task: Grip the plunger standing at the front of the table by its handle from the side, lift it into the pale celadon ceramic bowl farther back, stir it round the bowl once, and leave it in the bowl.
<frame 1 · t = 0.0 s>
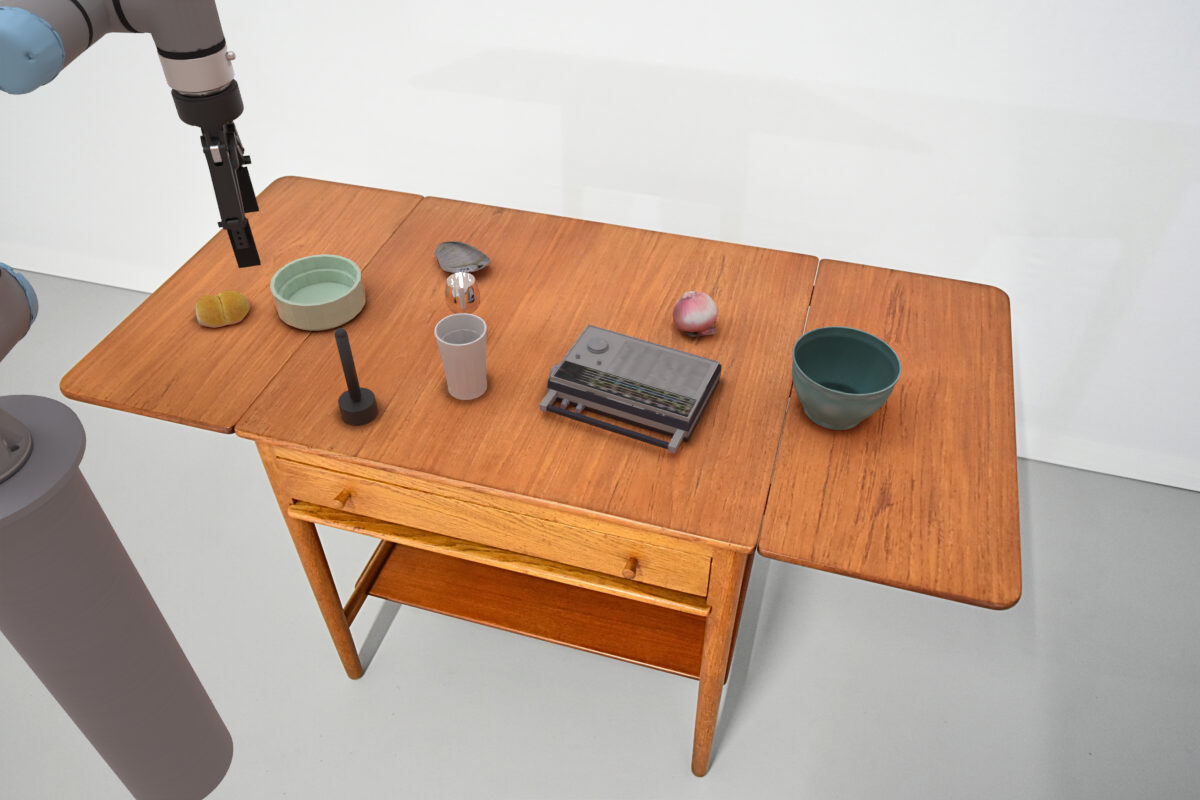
hand: (249, 237, 120), 32 cm above the table, tool pointing down, fingers open, 13 cm apart
radio: (628, 397, 145), on the table
bread roll: (223, 316, 159), on the table
wineglass: (467, 338, 155), on the table
bowl: (322, 306, 161), on the table
onion: (694, 329, 158), on the table
flower pot: (833, 411, 143), on the table
seashell: (460, 269, 170), on the table
plunger: (359, 413, 141), on the table
cup: (467, 387, 146), on the table
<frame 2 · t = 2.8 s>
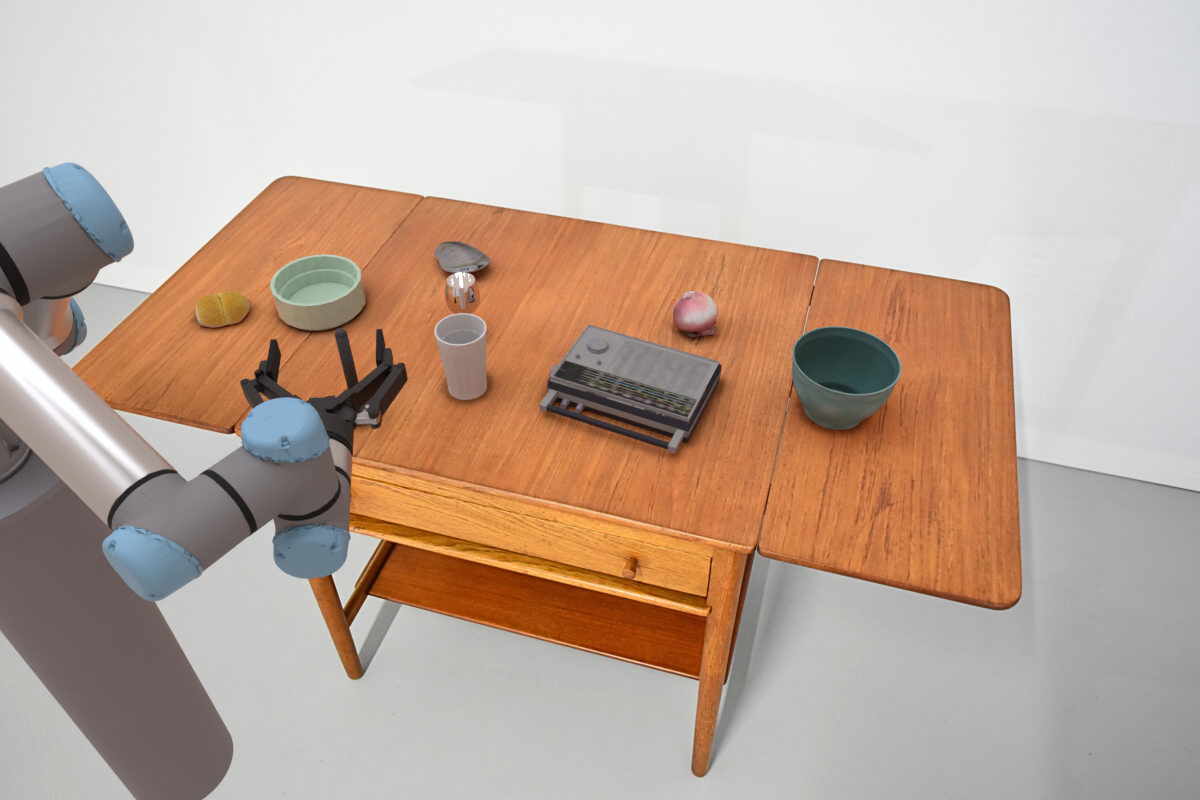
hand: (328, 341, 119), 22 cm above the table, tool horizontal, fingers open, 13 cm apart
nothing on the table moved.
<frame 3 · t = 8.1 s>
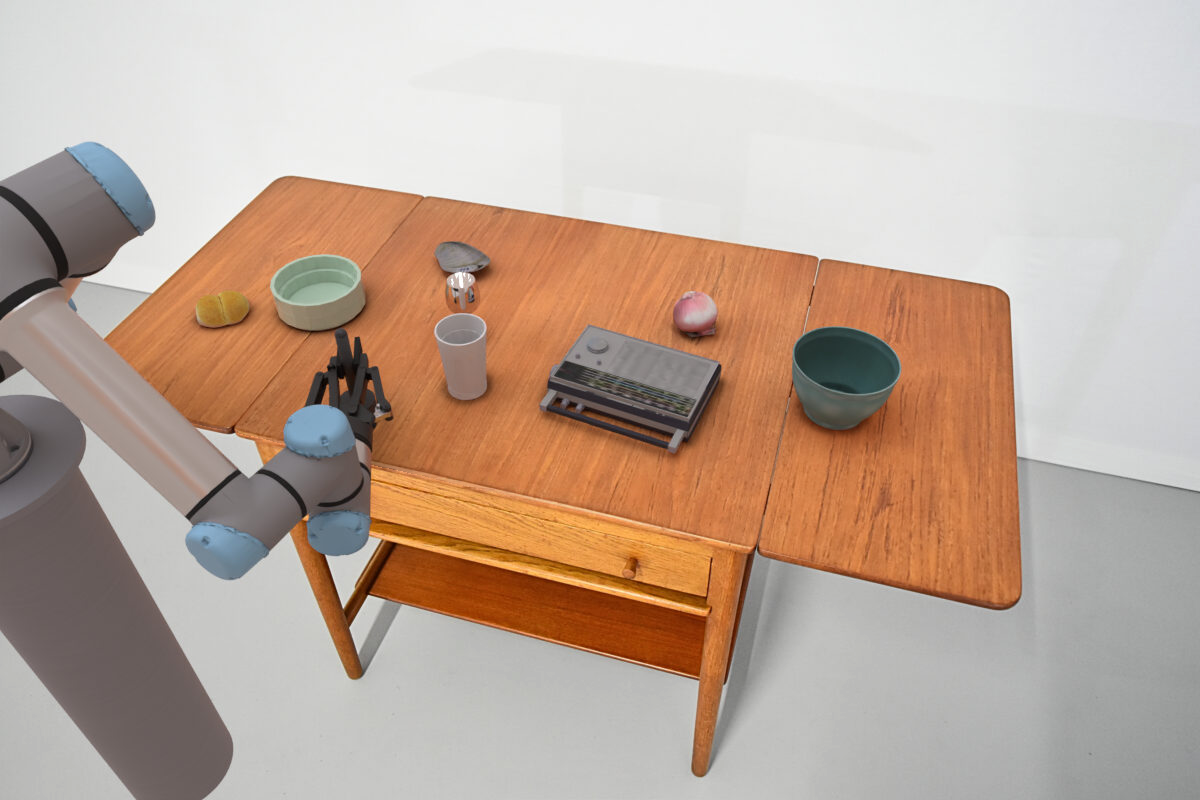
hand: (350, 344, 139), 10 cm above the table, tool horizontal, fingers closed on plunger, 2 cm apart
plunger: (359, 413, 141), on the table, touching gripper
everything else where it was.
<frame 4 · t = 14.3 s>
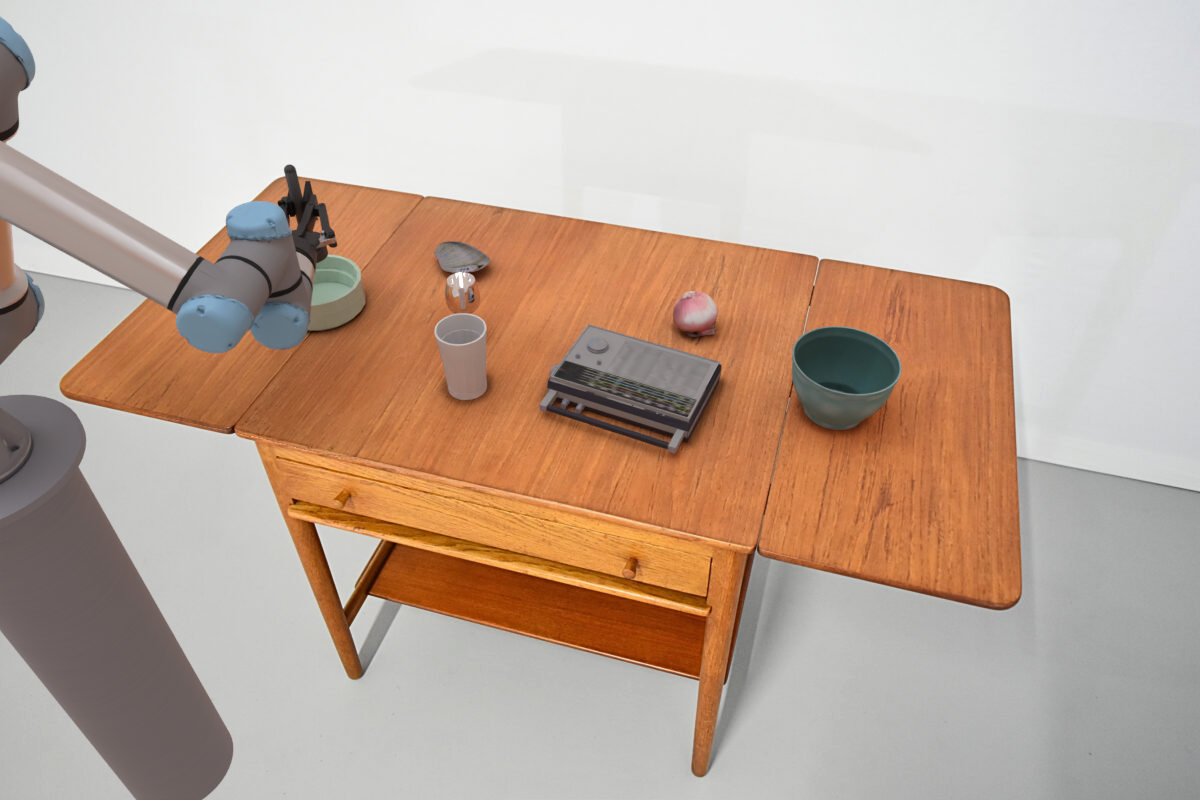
hand: (301, 188, 150), 21 cm above the table, tool horizontal, fingers closed on plunger, 2 cm apart
plunger: (311, 255, 152), point 12 cm above the table, touching gripper
everything else where it was.
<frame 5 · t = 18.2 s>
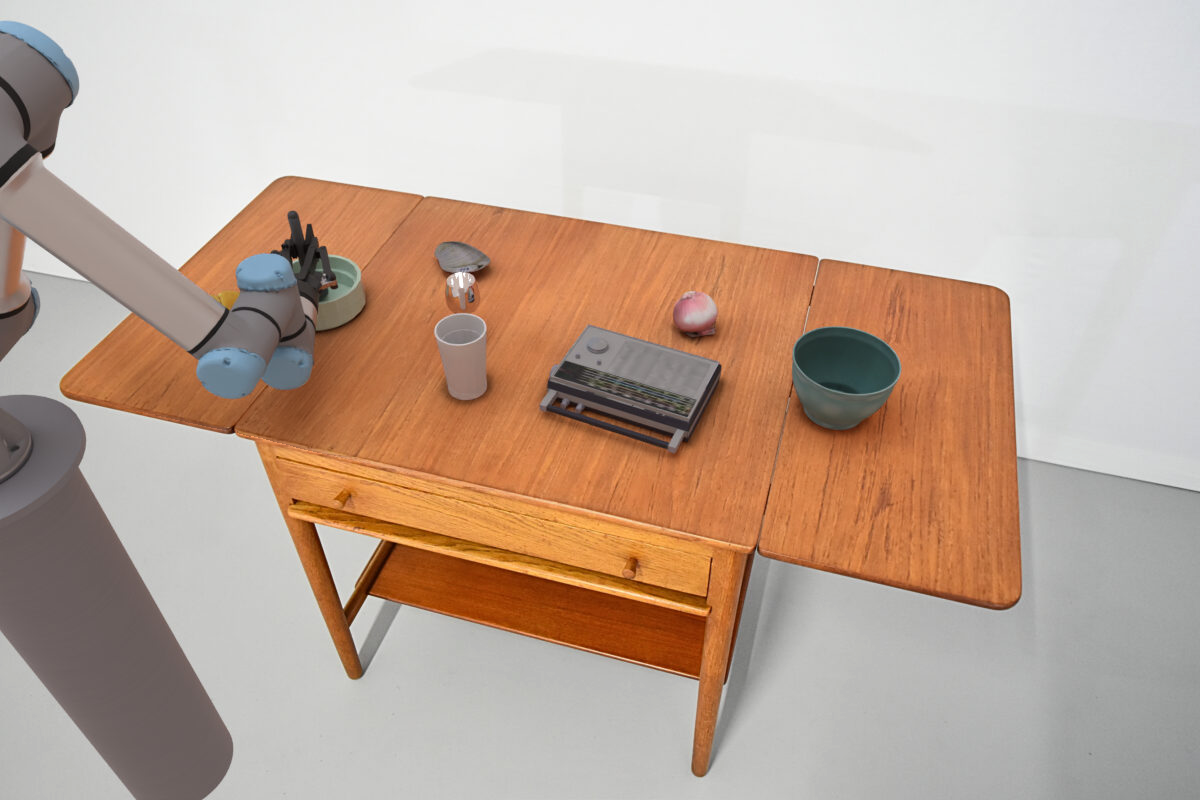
hand: (303, 231, 158), 12 cm above the table, tool horizontal, fingers closed on plunger, 2 cm apart
plunger: (312, 293, 160), point 2 cm above the table, touching gripper
everything else where it was.
when the fingers open (10 cm above the table, at t = 20.8 s): plunger stays where it is, resting on bowl.
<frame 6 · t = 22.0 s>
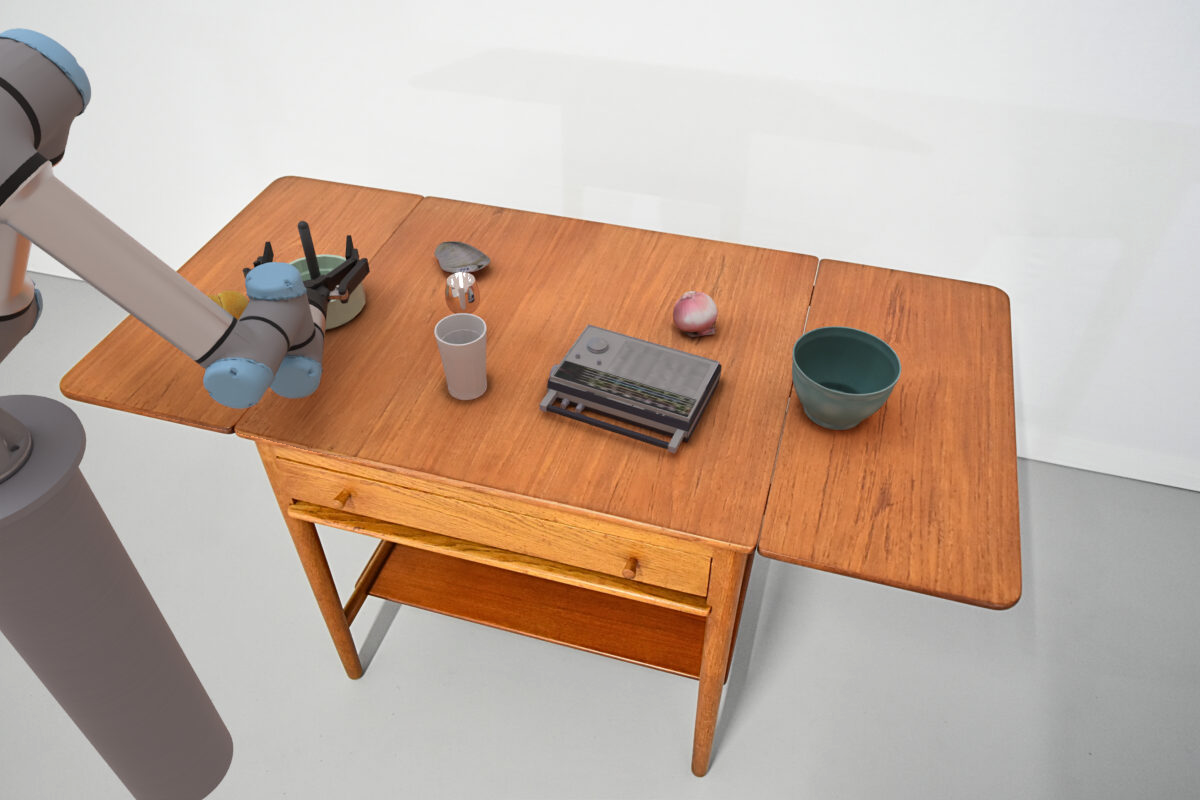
hand: (310, 244, 156), 11 cm above the table, tool horizontal, fingers open, 13 cm apart
plunger: (322, 302, 161), point 1 cm above the table, touching bowl
everything else where it was.
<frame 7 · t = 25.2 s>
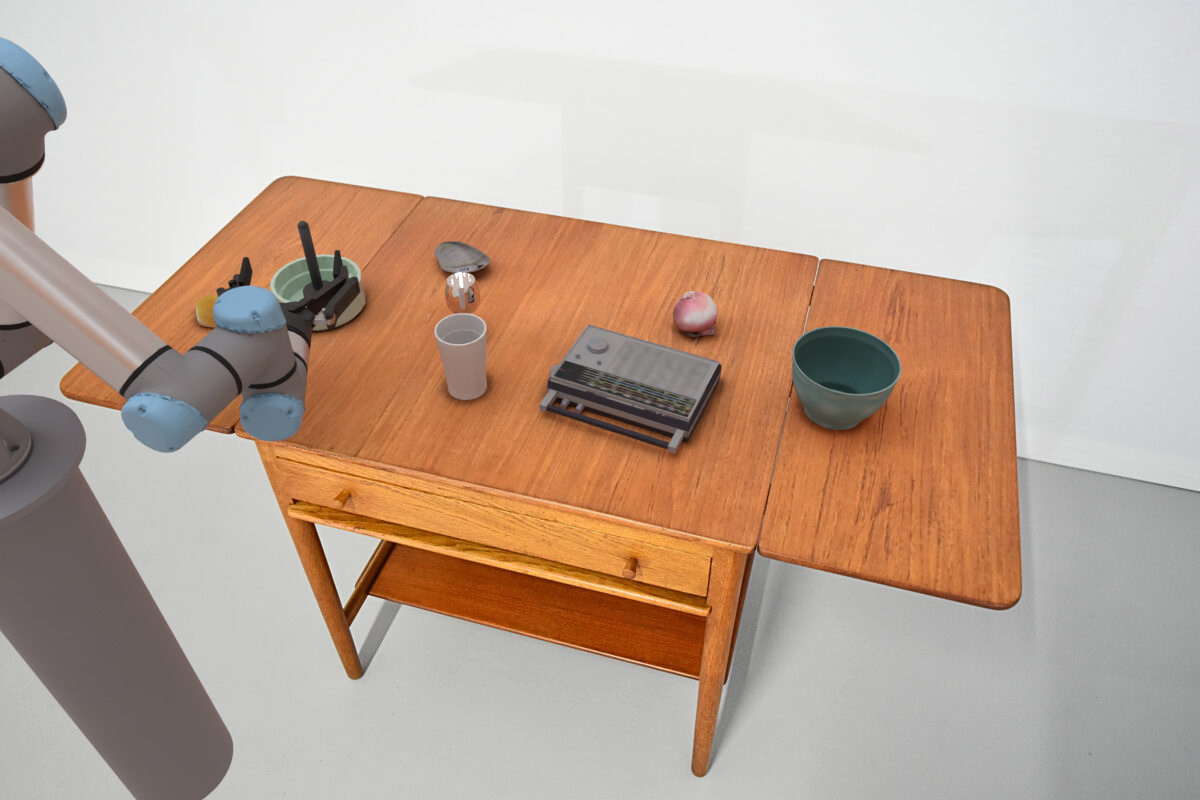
hand: (293, 260, 139), 19 cm above the table, tool horizontal, fingers open, 13 cm apart
nothing on the table moved.
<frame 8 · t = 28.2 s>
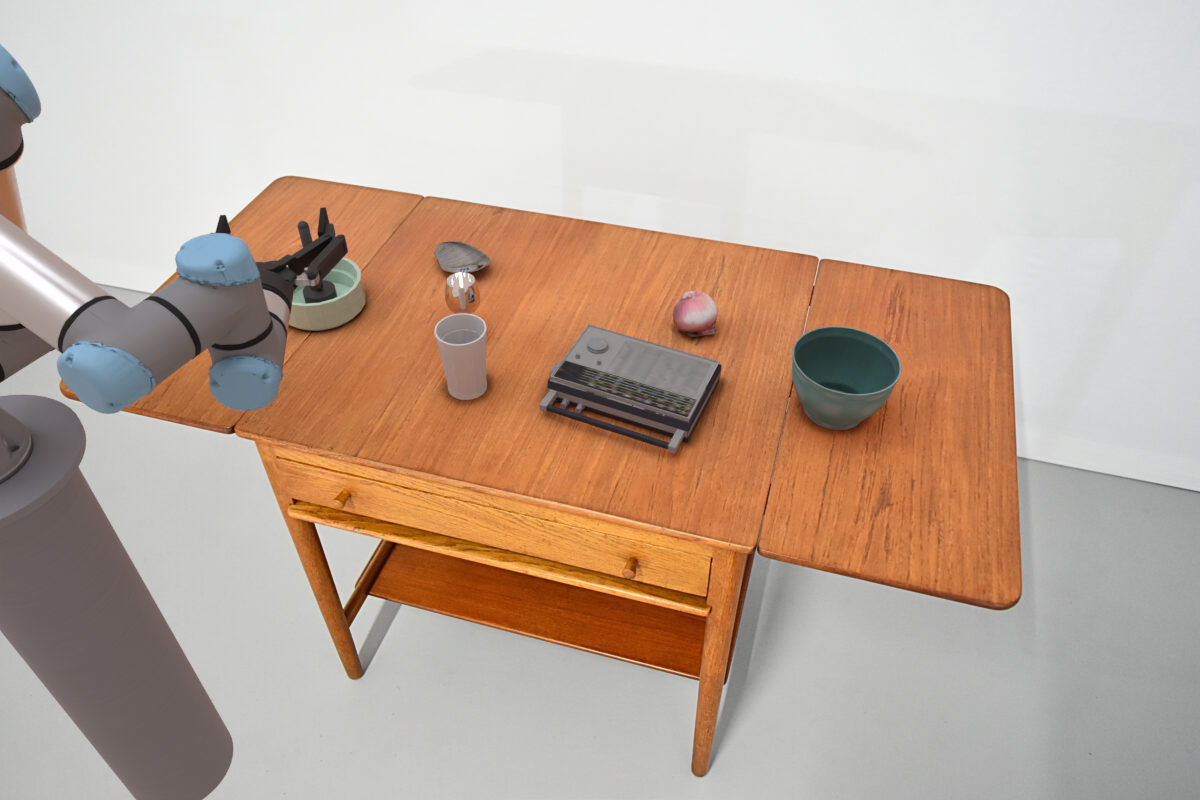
hand: (275, 219, 127), 30 cm above the table, tool horizontal, fingers open, 13 cm apart
nothing on the table moved.
at the end: plunger inside the target area in the bowl (0.0 cm from its centre), point 0.8 cm above the bowl's base; the gripper is holding nothing; plunger moved 30.1 cm from its start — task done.
